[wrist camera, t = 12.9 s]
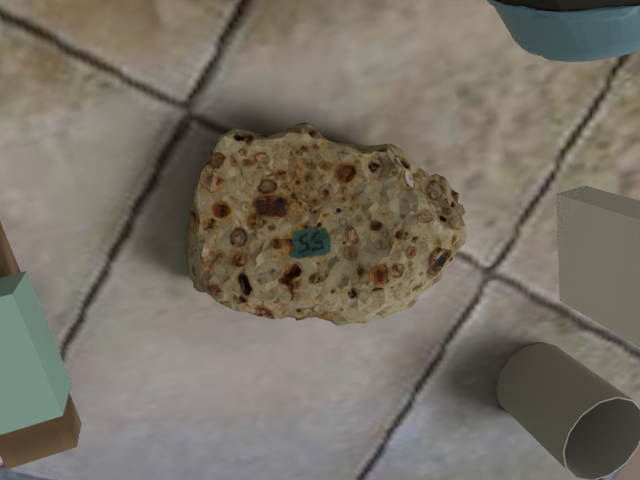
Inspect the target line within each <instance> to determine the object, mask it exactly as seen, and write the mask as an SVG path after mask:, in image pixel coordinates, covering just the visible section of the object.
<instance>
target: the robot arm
mask: <svg viewBox="0 0 640 480" xmlns="http://www.w3.org/2000/svg"><path fill="white" fill-rule="evenodd" d="M487 1H488V2H489V3H490V4H491V5H493V6H494V7H495V9H496V10H497V12H498V14H499V15H500V17H501V19H502V20H503V22H504V24H505V25H506V27H507V29H508V31H509V32H510V34H511V36H512V37H513V39H514V40H515V41H516V42H517V44H518V45H519V46H520V47H522V48H523V49H524V50H526V51H527V52H529V53H532V54H535V55H538V56H542V57H544V58H545V59H549V60H553V61H564V62H580V61H593V60H601V59H606V58H611V57H617V56H621V55H625V54H630V53H634V52H638V51H640V0H487ZM556 197H557V228H558V259H559V290H560V301H561V302H563V303H565V304H567V305H568V306H570V307H572V308H574V309H575V310H577V311H579V312H580V313H582V314H584V315H586V316H587V317H589V318H591V319H593V320H594V321H596V322H598V323H599V324H601V325H603V326H605V327H606V328H608V329H610V330H612V331H613V332H615V333H617V334H618V335H620V336H622V337H624V338H625V339H627V340H629V341H631V342H632V343H634V344H636V345H637V346H639V347H640V201H638V200H634V199H631V198H627V197H624V196H620V195H616V194H613V193H609V192H606V191H602V190H598V189H595V188H591V187H587V186H582V187H579V188H575V189H572V190H568V191H564V192H561V193H557V194H556Z"/></svg>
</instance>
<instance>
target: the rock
mask: <svg viewBox="0 0 640 480" xmlns="http://www.w3.org/2000/svg"><path fill="white" fill-rule="evenodd" d="M458 197H459V193H457V192H455V191H454V190H452V189H451V187H450V185H449V183H448V182H447V180H446V179H445V178H444V177H442V176H440V175H437V174H434V175H432V176H430V175H429V174H427V173H426V172H424V171H423V170H422V169H420V168H419V167H418V166H417V164H416V163H415V162H413V160H412V159H411V158H410V157H409V155H408V154H407V153H406V152H404V151H403V150H401V149H399V148H398V147H396V146H395V145H392V144H384V145H377V146H363V145H356V144H355V145H353V144H349V143H334V142H331V141H328V140H327V139H326V138H325V137H322V136H321V134H320V132H319V131H318V130H316V129H315V128H314V127H313V126H311V125H310V124H308V123H300V124H297V125H296V126H295V127H292V128H289V129H287V130H284V131H280V132H278V133H275V134H273V135H266V134H260V133H256V132H251V131H246V130H240V129H232V130H229V131H228V133H225V134H222V135H221V136H220V137H219V138H218V139H217V143H216V147H215V148H214V149H213V150H212V151H211V159H210V161H209V162H208V163H207V164H206V166H205V167H204V168H203V170H202V171H201V176H200V180H199V183H198V184H197V185H196V186H195V191H194V199H193V203H192V207H191V217H190V225H189V226H188V239H187V256H188V265H189V272H190V279H191V280H192V282H193V283H194V285H193V287H194V288H195V289H196V290H197V291H199V292H206V293H208V294H209V295H211V296H212V297H213V298H214V300H215V301H217V302H219V303H221V304H223V305H225V306H227V307H229V308H231V309H233V310H235V311H238V312H248V313H251V314H254V315H257V316H262V317H266V318H270V319H276V318H280V319H282V318H284V317H293V318H295V319H296V320H302V319H306V318H310V317H319V318H322V319H325V320H328V321H331V322H333V323H334V324H336V325H343V324H349V323H366V322H368V321H369V320H370V319H372V318H373V317H374V316H375V315H377V314H379V315H381V316H382V317H383V318H384V317H385V316H387V315H388V314H391V313H394V312H398V311H402V310H405V309H407V308H409V307H412V305H413V304H414V303H415V302H416V300H417V298H418V296H419V295H420V294H422V293H423V292H424V291H426V290H427V289H428V288H430V287H431V286H432V285H433V284H435V283H436V282H438V281H439V280H440V279H441V278H442V277H443V275H444V273H445V271H446V269H447V267H448V265H449V264H450V263H451V261H452V260H453V256H454V255H455V254H456V253H457V252H458V250H459V248H460V247H461V246H462V245H463V244H465V237H466V231H465V228H466V226H465V224H464V222H463V219H462V215H463V214H464V213H465V210H464V207H463V205H462V204H458Z"/></svg>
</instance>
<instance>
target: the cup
mask: <svg viewBox="0 0 640 480" xmlns="http://www.w3.org/2000/svg"><path fill="white" fill-rule="evenodd" d="M496 391H497V396H498V400H499V404H500V405H501V406H502V407H503V408H504V409H506V410H507V411H508V412H509V413H510V414H511V415H512V416H513V417H514V418H515V419H516V420H517V421H518V422H519V423H520V424H521V425H522V426H523V427H524V428H525V429H526V430H527V431H528V432H529V433H530V434H531V435H532V436H533V437H534V438H535V439H536V440H537V441H538V442H539V443H540V444H541V445H542V446H543V447H544V448H545V449H546V450H547V451H548V452H549V453H550V454H551V455H552V456H553V457H554V458H555V459H557V460H558V461H559V462H560V463H561V464H562V465H563V466H564V467H565V468H566V469H567V470H568V471H569V472H570V473H571V474H572V475H573V476H574V477H575V478H576V479H581V480H597V479H600V478H604V477H607V476H610V475H611V474H612V473H614V472H615V471H617V470H618V469H619V468H621V467H622V466H623V465H625V464H626V463H627V462H628V460H629V459H630V458H631V456H632V455H633V454H634V452H635V451H636V450H637V448H638V447H639V444H640V407H639V406H638V405H637V404H636V403H635V401H634V400H632V399H631V398H630V397H628V396H627V395H625V394H624V393H622V392H621V391H620V390H618V389H617V388H615V387H614V386H612V385H611V384H610V383H608V382H607V381H605V380H604V379H602V378H601V377H599V376H598V375H597V374H595V373H594V372H592V371H591V370H589V369H588V368H587V367H585V366H584V365H582V364H581V363H579V362H578V361H577V360H575V359H574V358H572V357H571V356H569V355H568V354H567V353H565V352H564V351H562V350H561V349H559V348H558V347H556V346H554V345H550V344H546V343H538V344H533V345H529V346H525V347H524V348H523V349H521V350H520V351H518V352H517V353H516V354H514V355H513V356H511V357H510V359H509V360H508V362H507V363H506V364H505V366H504V367H503V369H502V370H501V372H500V374H499V378H498V382H497V387H496Z"/></svg>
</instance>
